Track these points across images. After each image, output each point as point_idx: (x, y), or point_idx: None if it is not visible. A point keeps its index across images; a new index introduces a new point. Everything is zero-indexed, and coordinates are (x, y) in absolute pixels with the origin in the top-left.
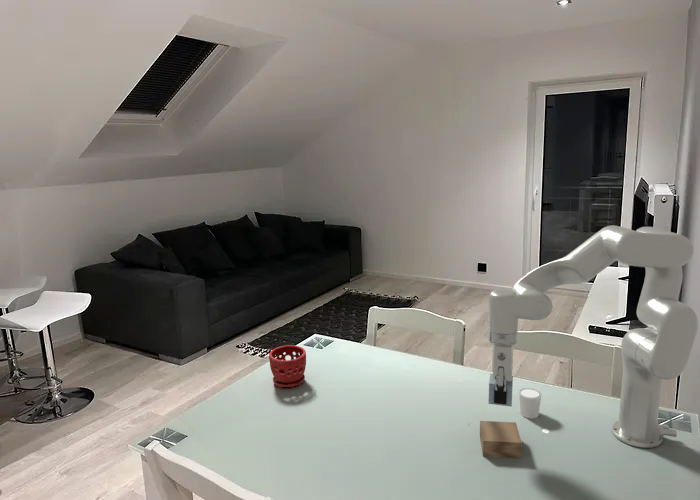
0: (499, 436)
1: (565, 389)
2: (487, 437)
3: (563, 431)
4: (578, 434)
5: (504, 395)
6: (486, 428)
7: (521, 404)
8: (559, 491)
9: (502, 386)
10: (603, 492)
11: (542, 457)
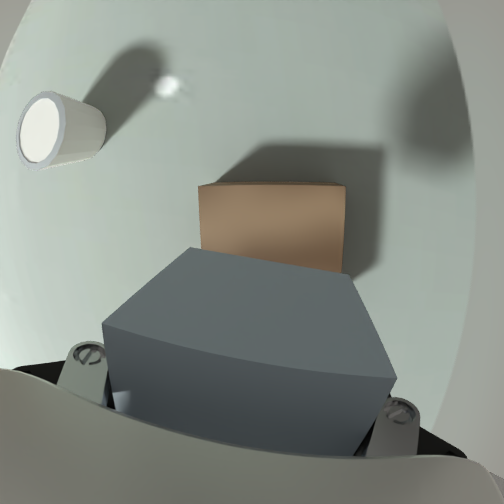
0: (307, 263)
1: (6, 59)
2: None
3: (168, 38)
4: (182, 5)
5: None
6: None
7: (73, 156)
8: (461, 117)
9: (499, 478)
10: (440, 21)
11: (322, 114)
